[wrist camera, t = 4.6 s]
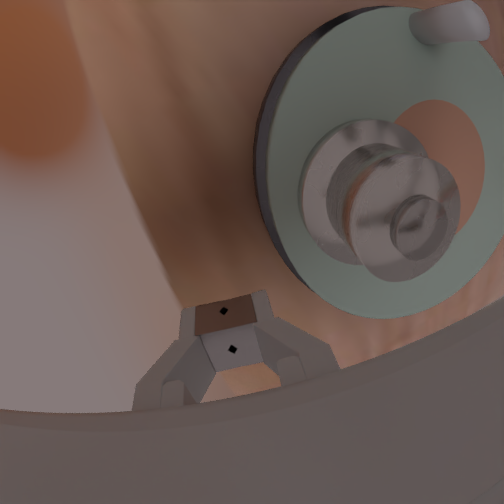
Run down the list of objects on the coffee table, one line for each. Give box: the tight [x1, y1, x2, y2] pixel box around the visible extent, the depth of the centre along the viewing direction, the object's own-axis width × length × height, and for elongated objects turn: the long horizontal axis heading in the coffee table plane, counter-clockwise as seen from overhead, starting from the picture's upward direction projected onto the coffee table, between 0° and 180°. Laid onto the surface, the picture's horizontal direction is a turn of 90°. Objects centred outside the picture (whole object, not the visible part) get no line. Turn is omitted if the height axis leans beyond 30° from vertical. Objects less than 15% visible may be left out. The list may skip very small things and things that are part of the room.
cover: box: [297, 118, 461, 282], centre depth 15 cm, size 9×9×6 cm
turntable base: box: [253, 6, 394, 292], centre depth 20 cm, size 25×25×2 cm
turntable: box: [265, 0, 504, 319], centre depth 16 cm, size 24×24×6 cm
